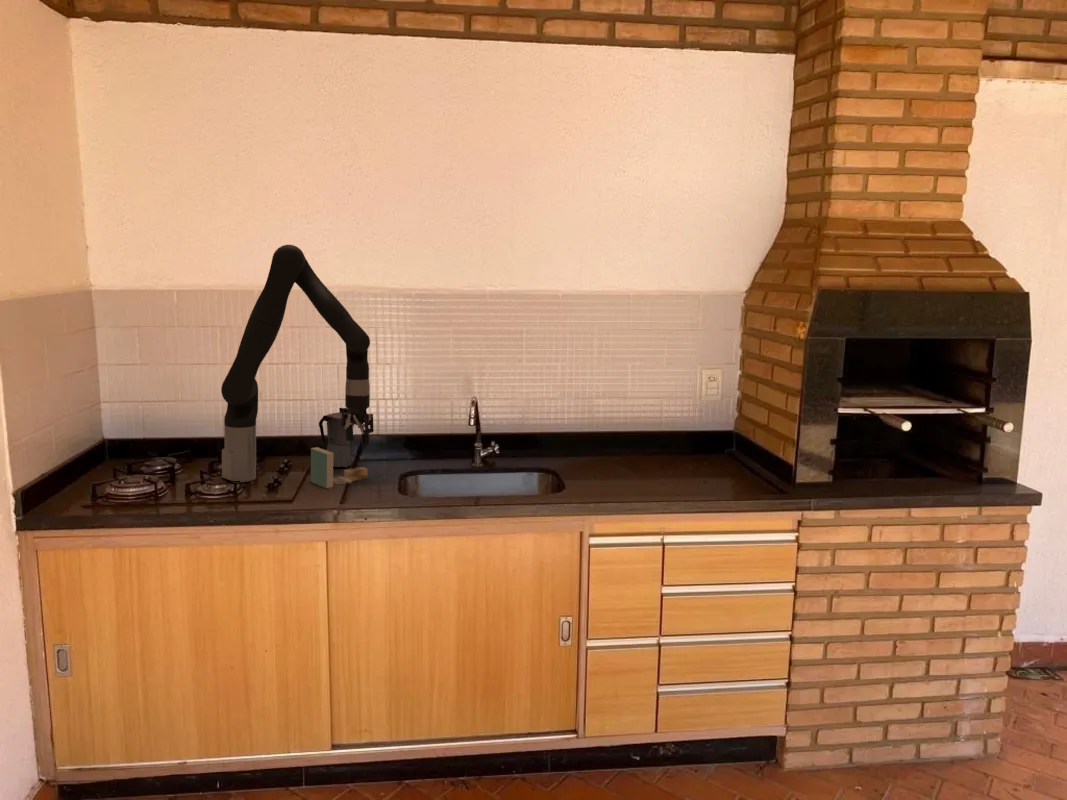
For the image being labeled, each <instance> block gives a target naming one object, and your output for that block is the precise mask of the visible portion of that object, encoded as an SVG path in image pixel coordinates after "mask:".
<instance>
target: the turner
mask: <svg viewBox="0 0 1067 800" xmlns="http://www.w3.org/2000/svg"><path fill="white" fill-rule="evenodd" d="M368 475H369V469H368V468H366V467H364V466H362V467H361V466H360V467H354V468H349V469H344V471H343V476H342V475H341V476H336V477H333V482H336V483H338V484H339V483H343V482H347V483H348V484H352V483H353V482H354V481H360V480H366V479H368V478H369V477H368Z"/></svg>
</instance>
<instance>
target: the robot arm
mask: <svg viewBox="0 0 1067 800" xmlns="http://www.w3.org/2000/svg"><path fill="white" fill-rule="evenodd" d="M295 284H296V285H297V286H298V287H299V288H300V289H301V290H302V292H303V293H304V294H305V296H307V298H308V300H309V301H310V302H311V304H312V305H313V307H314V308H315V309H316V311H317V312H318V313H319V314H320V316H321V317H322V318H323V319H324V320H325V322H326V323H327V324H328V325H329V327H330V328H331V329H332V330H334V331H335V332H336V333H337V335H338V336H339V337H340V338H341V340H342V341H343V342H344V344H345V353H346V367H345V368H346V369H345V370H346V371H345V376H346V377H345V390H344V391H345V394H344V395H345V396H344V397H345V399H344V401H345V403H344V404H345V405H344V408H343V407H341V408H342V426H344V427H345V429H346V440H347V441H350V442H351V441H353V440H354V426H355V425H356V426H357V428H358V429H359V430H360V432H361V441H360V443H361V446H363V447H364V446H368V445H369V441H370V440H369V438H370V437H369V436H370V434H371V433H374V414H373V413H368V412H367V409H368V408H369V409H370V405H371V404H370V401H371V400H370V398H371V397H370V395H371V394H370V391H371V390H370V388H371V387H370V385H371V384H370V365H369V359H368V357H369V356H368V354H369V348H370V344H371V340H370V336H369V335H368V333H367V331H365V330H364V329H363V328H362V327H361V325H359V324H358V323H357V322H356V321H355V320H354V318H353V317H352V316H351V314H350V313H349V311H348V310H347V308H346V307H345V306H344V305H343V304H342V303H341V302H340V300H339V299H337V297H336V296H335V295H334V294H333V293H332V292H331V291H330V289H329V288H328V287H327V286H326V285H325V284H324V283H323V282H322V281H321V279H320V278H319V277H318V276H317V274H316V273H315V271H314V270H313V268H312V267H311V265H310V263H309V262H308V260H307V258H306V257H305V254H304V253H303V250H301V248H299V247H297V245H294V244H283V245H281V246H279V247H278V248H277V249H275V251H274V253H273V255H272V258H271V264H270V267H269V271H268V275H267V279H266V281H265V285H264V287H263V288H262V291H261V292H260V294H259V295H258V298H257V300H256V302H255V304H254V306H253V309H252V310H251V313H250V315H249V318H248V320H247V323H246V326H245V328H244V331H243V333H242V334H243V335H242V336H241V341H240V343H239V345H238V349H237V353H236V355H235V358H234V361H233V363H232V364H231V367H230V369H229V371H228V372H227V374H226V376H225V378H224V380H223V382H222V384H221V387H220V388H221V390H220V391H221V395H222V398H223V400H224V401H225V402H226V403H227V407H226V412H225V414H224V419H223V421H224V423H223V426H224V427H223V428H224V429H223V430H224V431H223V432H224V439H223V440H224V448H222V449H221V478H222V477H224V478H227V479H229V480H233V481H240V482H239V483H246V482H252V481H254V480H256V479H257V417H258V413H259V412H258V411H259V385H258V382H257V379H256V377H257V373H258V371H259V367H260V366H261V364H262V362H263V361H264V359H265V357H266V356H267V354H268V353H269V351H270V350H271V348H272V346H273V344H274V343H275V342H276V338H277V336H278V334H279V331H280V329H281V326H282V323H283V320H284V316H285V312H286V309H287V303H288V299H289V297H290V294H291V291H292V289H293V287H294V285H295ZM345 419H347V420H346V422H345ZM352 428H353V429H352Z"/></svg>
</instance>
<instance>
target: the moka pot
mask: <svg viewBox="0 0 1067 800" xmlns="http://www.w3.org/2000/svg"><path fill="white" fill-rule="evenodd" d="M342 408H343V407H339V408H338V410H339V412H333V413H329V414H326V415H323V416H322V417H321V419H320V420H319V421H318V427H319V431H320V436H321V440H322V443H323V444H327V447H326V450H327V451H330V452H332V453H334V456H333V467H345V466H349V465H350V464H351V465H352V462H351V461H352V460H351V446H350V443H351V441H347V440H346V429H345V427H344V426H342ZM346 420H347V419H345V422H346ZM324 422H326V431H327V434H326V435H327V438H328V439H326V438H325V437H326V436H325V432H324V425H323V423H324ZM352 429H353V430H354V427H353V428H352Z"/></svg>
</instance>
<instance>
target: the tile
mask: <svg viewBox="0 0 1067 800" xmlns="http://www.w3.org/2000/svg"><path fill="white" fill-rule="evenodd" d="M333 456H334V453H332V452H330V451H327V449H324V448H320V447H311V448H310V483H311V482H312V484H314V483H315V484H314V485H316V484H317V485H316V486H319V487H321V486H322V487H321V488H323V487H324V488H323V489H326V488H329V487H333V488H334V483H333V478H334V468H333ZM329 489H330V488H329Z"/></svg>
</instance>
